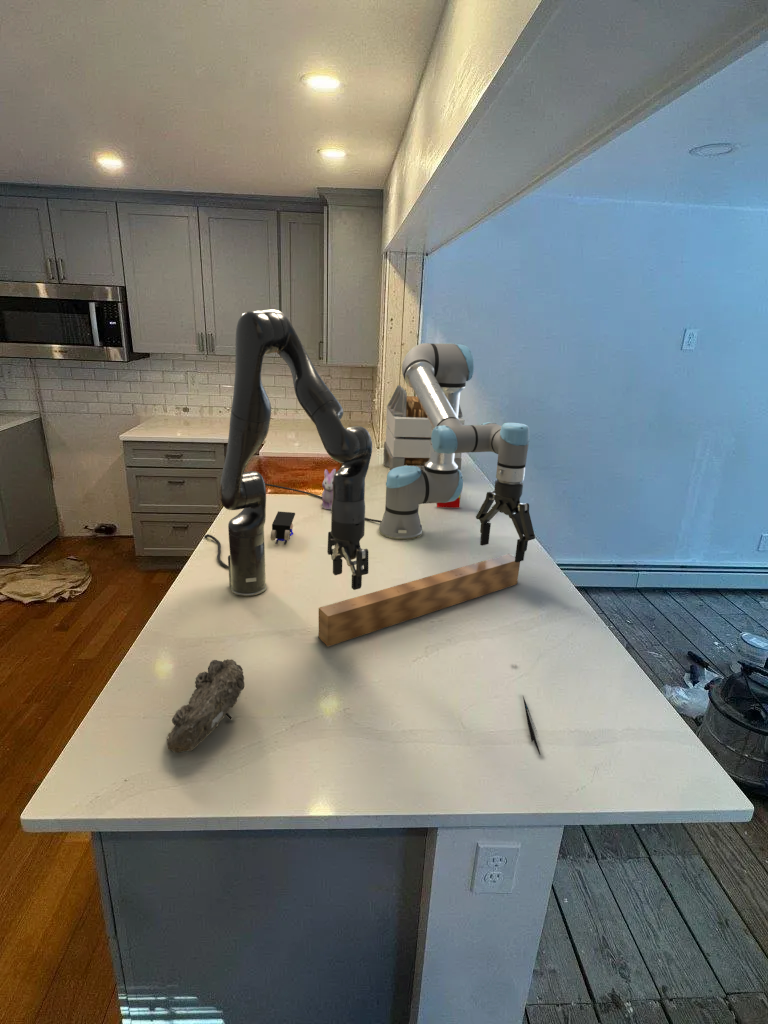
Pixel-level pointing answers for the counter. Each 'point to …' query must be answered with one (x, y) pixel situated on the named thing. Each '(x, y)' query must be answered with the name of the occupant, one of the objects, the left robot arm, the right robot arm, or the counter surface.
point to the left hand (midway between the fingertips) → (346, 581)
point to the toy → (450, 504)
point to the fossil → (206, 705)
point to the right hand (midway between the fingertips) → (501, 552)
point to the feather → (530, 725)
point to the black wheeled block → (282, 527)
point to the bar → (414, 599)
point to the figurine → (328, 489)
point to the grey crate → (409, 432)
